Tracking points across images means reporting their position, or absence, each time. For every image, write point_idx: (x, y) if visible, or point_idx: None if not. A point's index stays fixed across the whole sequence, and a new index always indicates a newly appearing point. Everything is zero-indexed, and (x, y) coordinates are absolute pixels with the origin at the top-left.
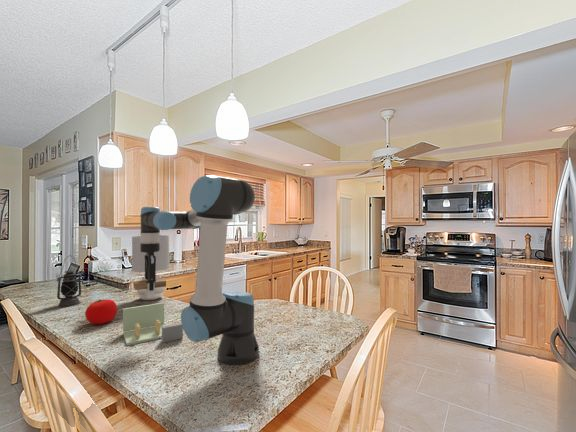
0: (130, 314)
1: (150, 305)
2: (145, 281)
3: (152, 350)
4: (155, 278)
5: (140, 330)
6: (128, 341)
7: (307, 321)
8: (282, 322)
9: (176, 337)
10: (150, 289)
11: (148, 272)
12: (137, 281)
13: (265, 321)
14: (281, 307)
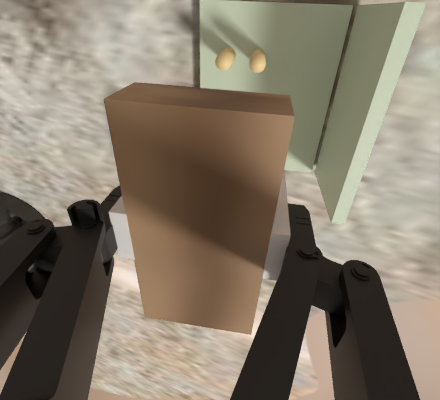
0: (373, 50)
1: (349, 166)
2: (198, 216)
3: (111, 79)
4: (28, 282)
5: (314, 81)
6: (214, 10)
7: (128, 360)
8: (145, 341)
9: None
10: (113, 193)
11: (39, 309)
12: (251, 154)
13: (168, 331)
14: (231, 380)
